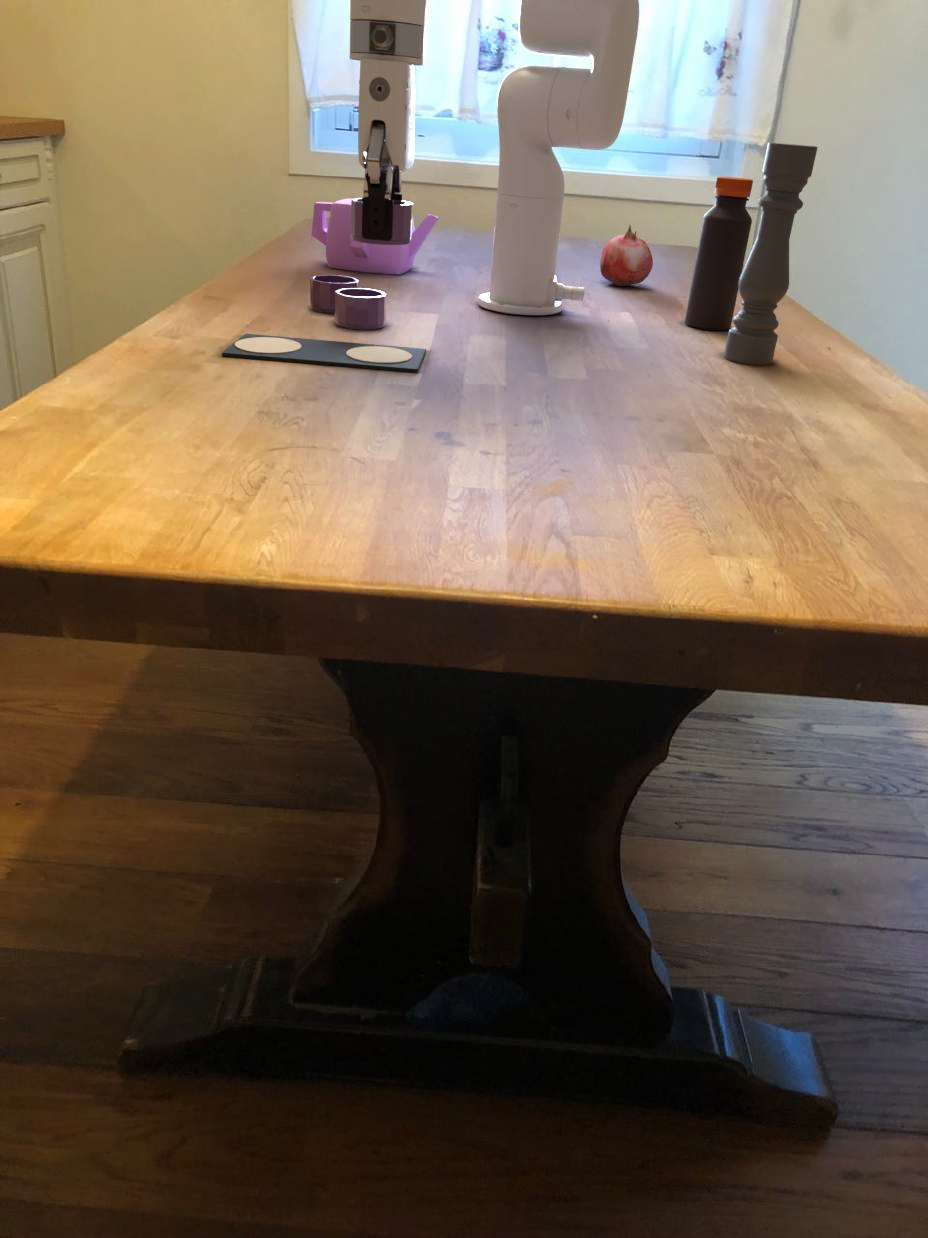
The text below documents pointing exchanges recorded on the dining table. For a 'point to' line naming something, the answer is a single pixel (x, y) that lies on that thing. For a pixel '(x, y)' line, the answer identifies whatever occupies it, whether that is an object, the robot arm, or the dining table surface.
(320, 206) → the teakettle
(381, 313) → the dish
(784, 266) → the candle holder
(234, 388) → the dining table surface
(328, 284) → the purple cup
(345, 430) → the dining table surface
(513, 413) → the dining table surface
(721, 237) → the bottle
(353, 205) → the dish
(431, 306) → the dining table surface
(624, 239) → the fruit
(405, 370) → the mat
